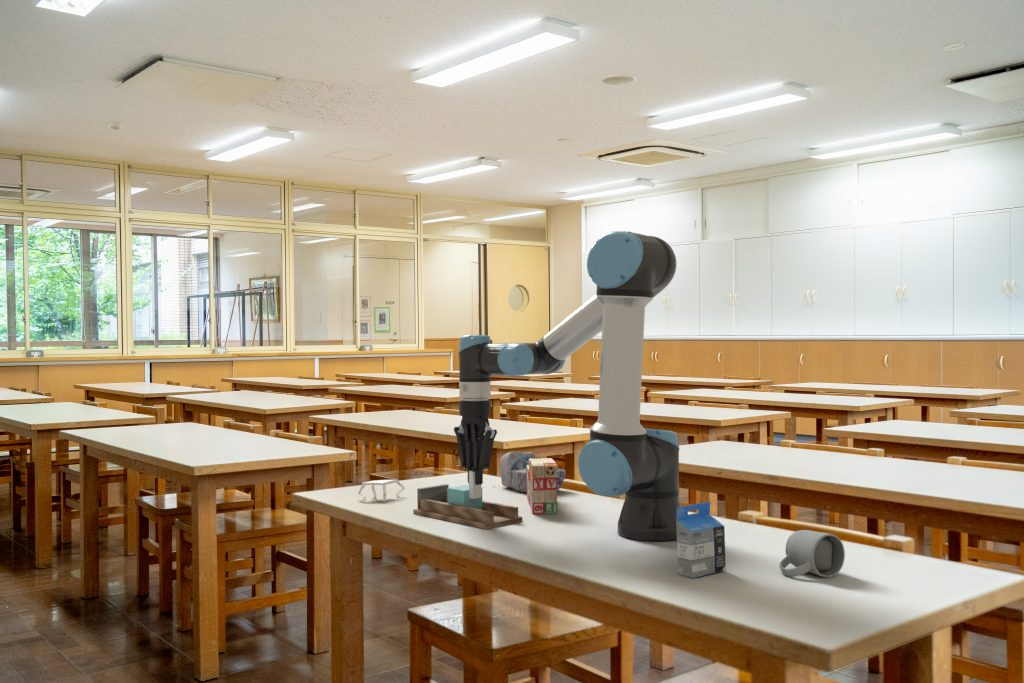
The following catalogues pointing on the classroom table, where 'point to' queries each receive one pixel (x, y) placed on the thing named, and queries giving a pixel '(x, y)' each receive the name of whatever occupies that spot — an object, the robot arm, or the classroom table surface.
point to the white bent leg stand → (383, 482)
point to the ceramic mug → (813, 554)
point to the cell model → (520, 471)
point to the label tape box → (699, 542)
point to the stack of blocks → (542, 485)
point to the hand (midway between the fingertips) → (475, 497)
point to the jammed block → (463, 497)
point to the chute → (463, 509)
